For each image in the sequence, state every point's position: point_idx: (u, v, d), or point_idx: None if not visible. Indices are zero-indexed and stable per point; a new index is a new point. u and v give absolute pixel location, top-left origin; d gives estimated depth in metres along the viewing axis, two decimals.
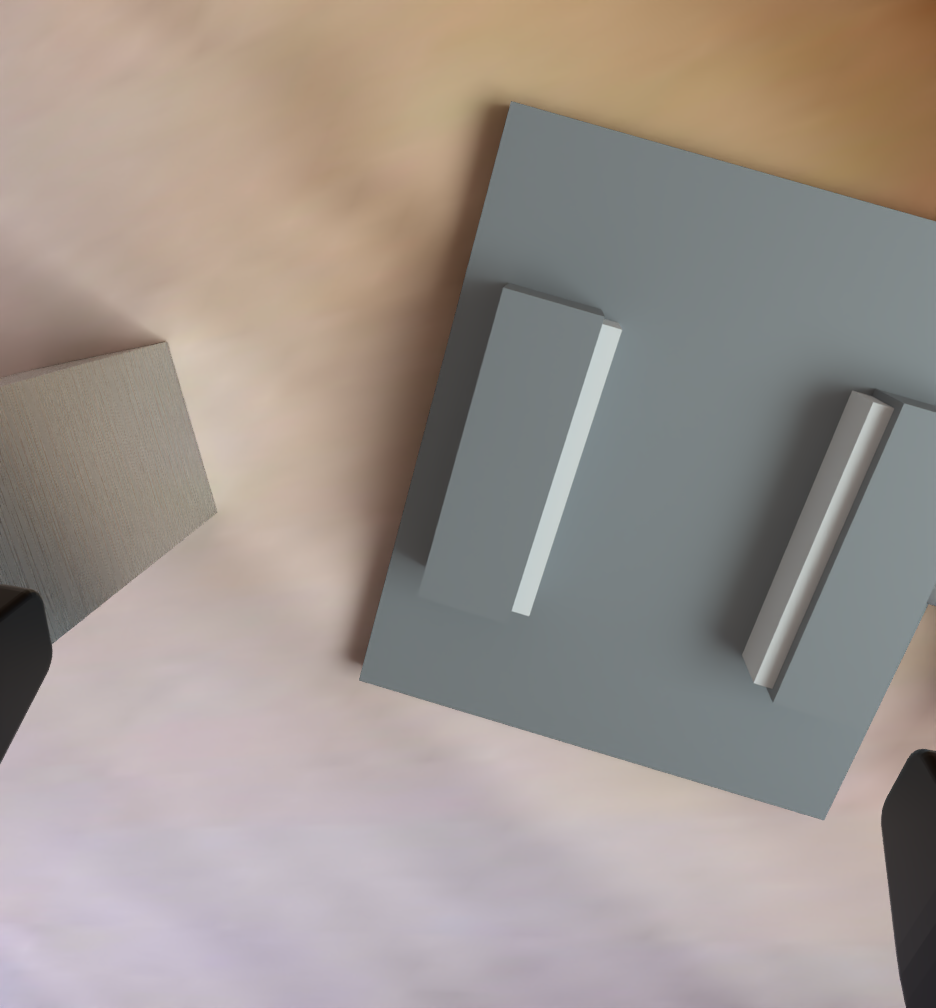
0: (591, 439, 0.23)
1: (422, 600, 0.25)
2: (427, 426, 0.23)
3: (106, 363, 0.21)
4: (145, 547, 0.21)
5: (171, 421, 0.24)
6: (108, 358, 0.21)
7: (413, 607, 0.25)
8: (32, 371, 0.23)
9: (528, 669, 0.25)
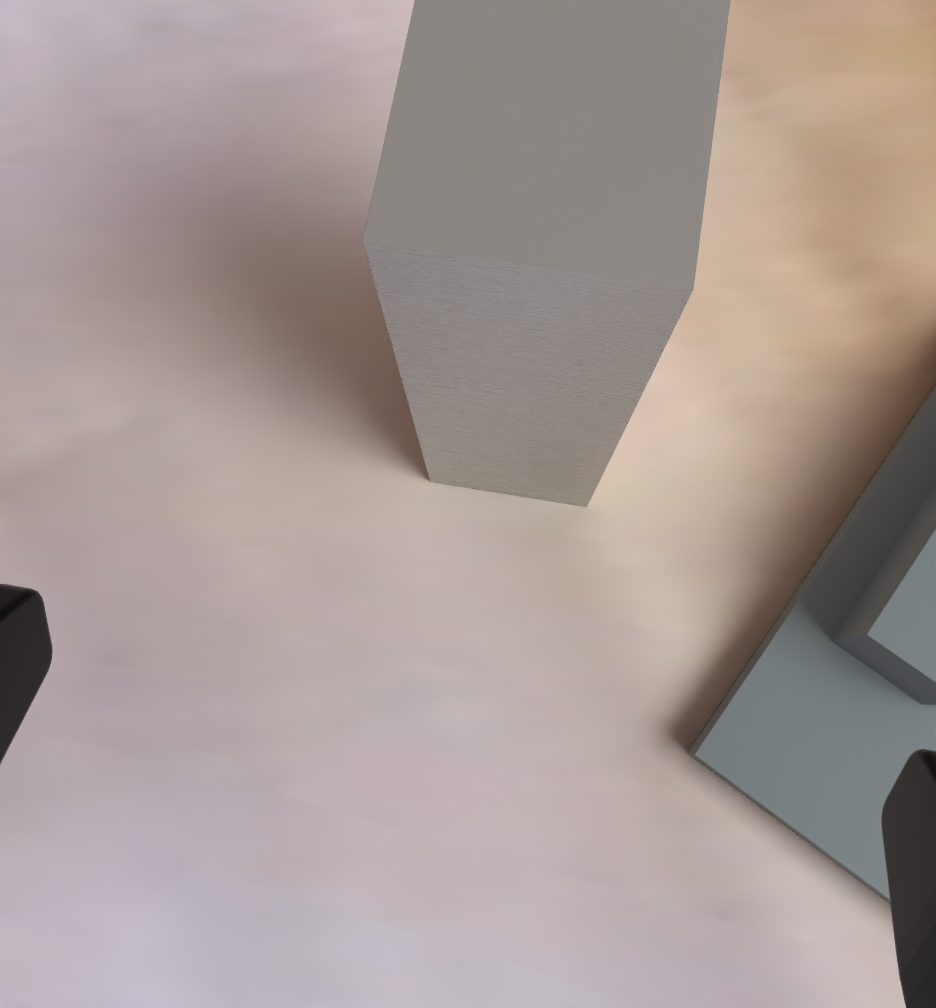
0: None
1: (810, 676, 0.20)
2: (879, 483, 0.21)
3: None
4: None
5: None
6: None
7: (796, 681, 0.20)
8: None
9: None
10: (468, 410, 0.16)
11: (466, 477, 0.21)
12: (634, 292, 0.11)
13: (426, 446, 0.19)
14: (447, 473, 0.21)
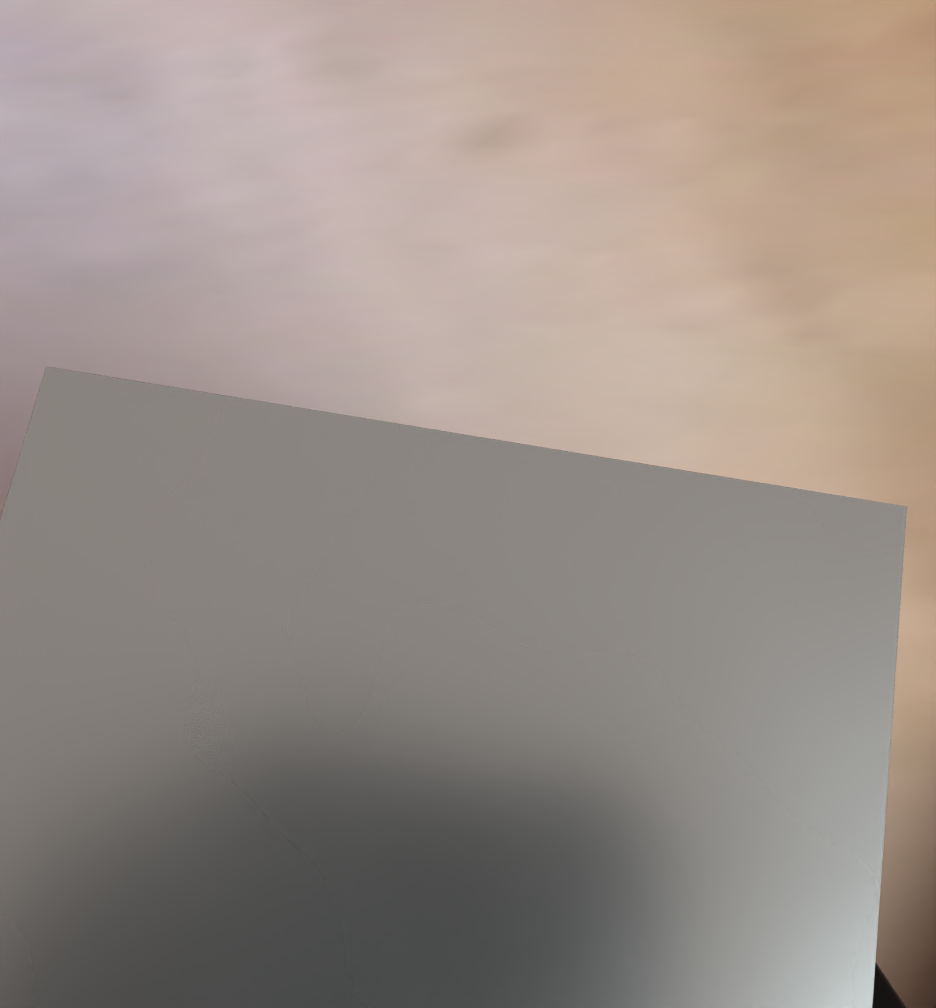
0: None
1: None
2: None
3: None
4: None
5: None
6: None
7: None
8: None
9: None
10: None
11: None
12: None
13: None
14: None
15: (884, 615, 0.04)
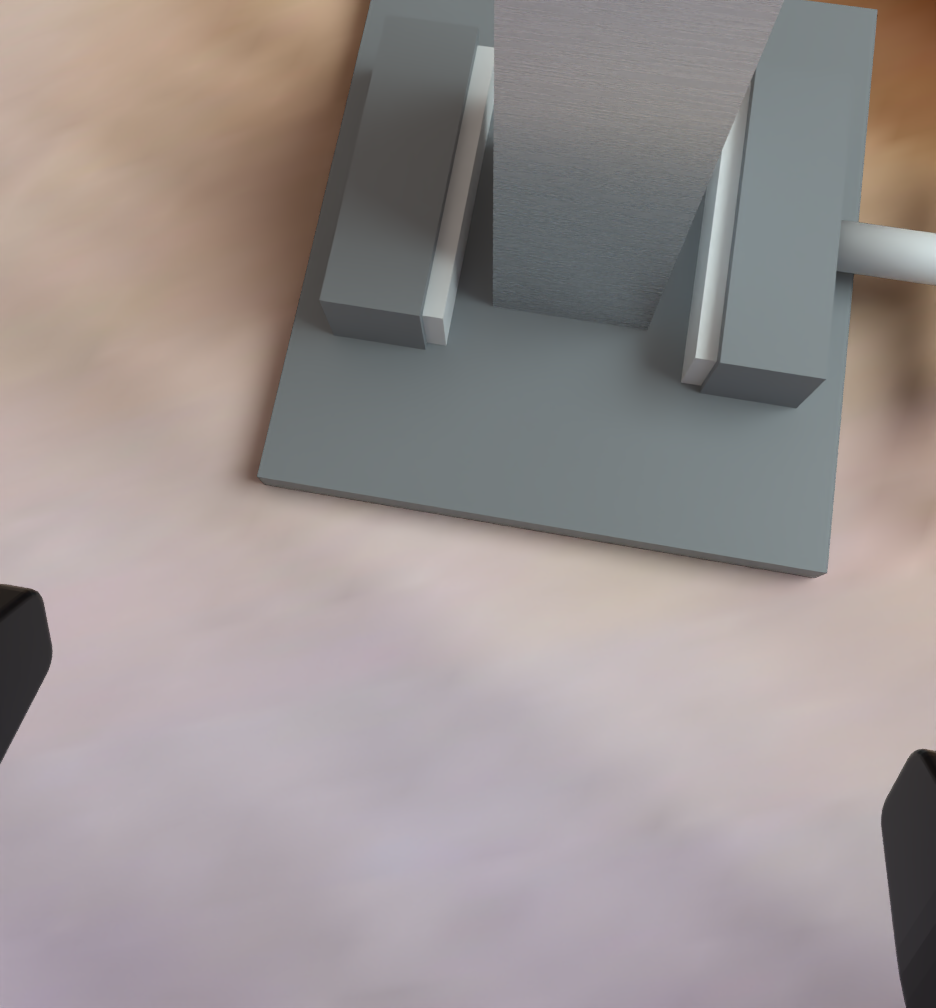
0: (486, 188, 0.24)
1: (328, 370, 0.22)
2: (325, 195, 0.24)
3: None
4: None
5: None
6: None
7: (318, 380, 0.22)
8: None
9: (452, 433, 0.22)
10: (553, 170, 0.17)
11: (531, 293, 0.22)
12: None
13: (499, 242, 0.20)
14: (513, 289, 0.22)
15: None
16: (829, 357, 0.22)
